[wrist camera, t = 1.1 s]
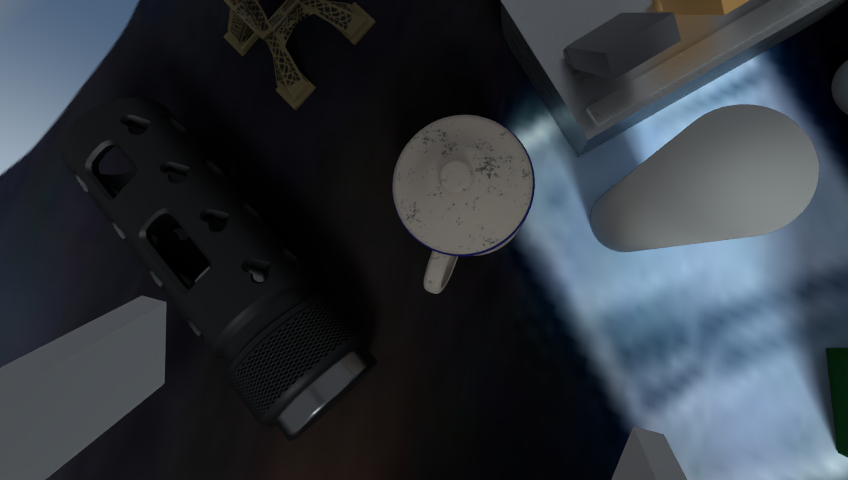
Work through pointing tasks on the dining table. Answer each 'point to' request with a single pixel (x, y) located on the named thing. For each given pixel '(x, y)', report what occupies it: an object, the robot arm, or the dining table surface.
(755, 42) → the block
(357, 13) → the eiffel tower
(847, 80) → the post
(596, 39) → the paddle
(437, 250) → the teacup with lid
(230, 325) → the muzzle brake
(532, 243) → the dining table surface
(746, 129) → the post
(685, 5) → the block
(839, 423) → the milk carton
